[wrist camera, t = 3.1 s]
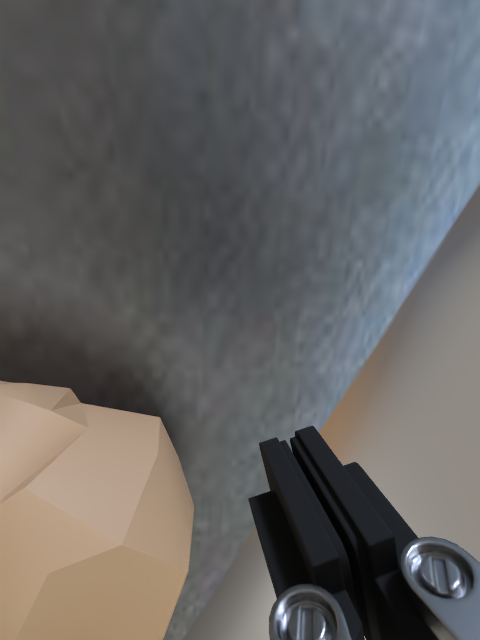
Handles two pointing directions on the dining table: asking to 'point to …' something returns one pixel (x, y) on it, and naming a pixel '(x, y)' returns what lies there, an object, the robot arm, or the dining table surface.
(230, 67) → the dining table surface
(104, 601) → the squash
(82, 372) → the dining table surface
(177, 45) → the dining table surface
